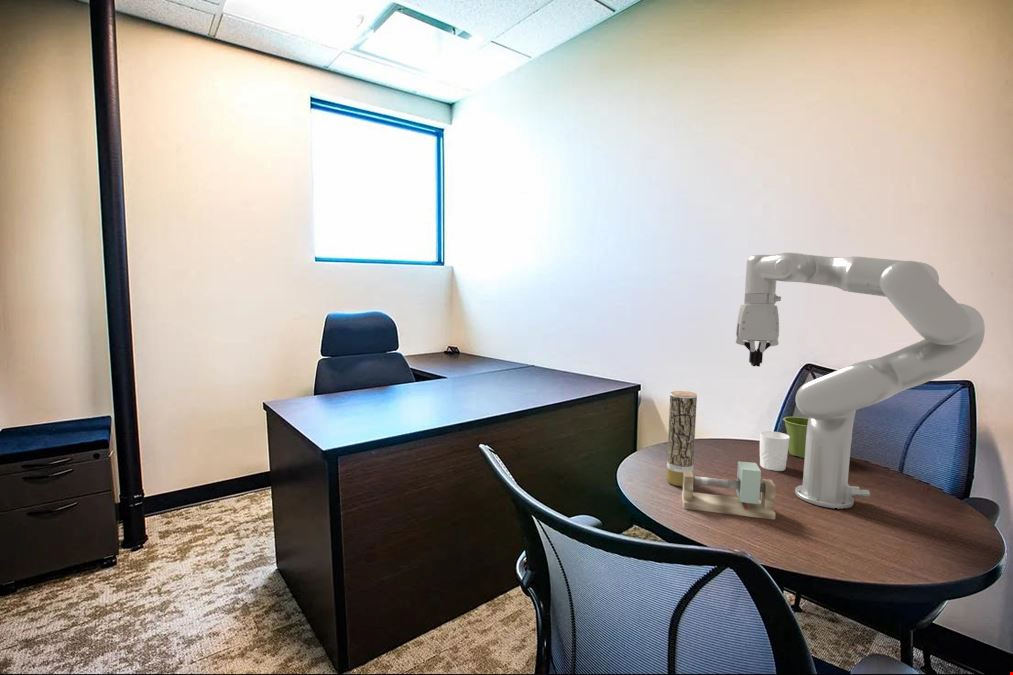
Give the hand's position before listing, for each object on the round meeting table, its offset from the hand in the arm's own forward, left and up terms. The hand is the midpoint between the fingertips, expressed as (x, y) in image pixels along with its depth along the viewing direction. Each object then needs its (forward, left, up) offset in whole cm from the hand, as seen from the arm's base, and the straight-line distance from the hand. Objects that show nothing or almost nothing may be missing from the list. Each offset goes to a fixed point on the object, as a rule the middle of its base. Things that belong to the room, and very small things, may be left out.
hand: (755, 365), depth 137 cm
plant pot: (-21, -25, -32) cm, 46 cm away
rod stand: (+9, +24, -32) cm, 41 cm away
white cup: (-9, -10, -32) cm, 35 cm away
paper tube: (+20, +11, -32) cm, 39 cm away
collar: (+5, +24, -29) cm, 38 cm away
